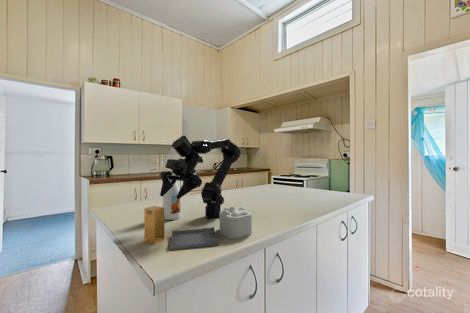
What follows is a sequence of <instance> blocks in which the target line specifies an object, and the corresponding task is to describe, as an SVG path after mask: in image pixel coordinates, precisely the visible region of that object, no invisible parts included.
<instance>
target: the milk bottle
mask: <svg viewBox="0 0 470 313" xmlns="http://www.w3.org/2000/svg"><path fill="white" fill-rule="evenodd" d="M172 174H173V175H175V173H172ZM173 185H174V186H173V187H172V188H171V189H170V190H169V191H168V192H167V193H166V194H165V195H163V196H162V207H164V221H174V220H178V219H180V218H181V198H180V199H177V195H178V193H179V191H180V187H179V186H178V182H177V181H176V182H175V183H174V184H173Z"/></svg>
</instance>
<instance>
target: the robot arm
mask: <svg viewBox="0 0 470 313" xmlns="http://www.w3.org/2000/svg"><path fill="white" fill-rule="evenodd" d="M171 147H172V148H173V150H174V151H175V152H176V153H177V154H178V155H179V157H181V158H179V159H175V158H174V159H173V158H171V159H167V160H166V163H165V168H166V169H169V170H171V171H169V170H166V171H165V170H163V171H161V172H160V174H159V175H158V176H159V177H160V179H161V181H162V185H161V188H160V192H159V196H160V197H163V195H165V194H166V193H167V192H168V191H169V190H170V189H171V188H172V187H173V186H174V185H173V184H174V183H175V182H177V181H179V182H182V185H181V186H180V188H179V190H180V191H179V193H178V195H177V199H180V200H181V198H182V197H184V196H185V195H187V194H188V193H190V192H192V191H194V190H195V189H198V188H200V187H201V186H202V184H203V181H202V180H203V179H202V178H201V177H200V176H199V175H198V174H197V172H196V167H197V165H198V164H199V163H200V164H203V163H204V160H203V156H200V155H201V154H203V155H204V154H209V152H211V151H212V150H214V149H215V150H216V149H220V151H221V153H222V161H221V163H220V165H219V167H218V169H217V171H216V173H215V175H214V176H213V178H212V180H211V181H210V182H205V183H204V185H203V188H201V194H200V195H201V199H202V202H203V204H206V206H205V207H204V208H205V209H204V213H205V214H204V216H206V219H217V218H219V219H220V211H221V210H222V209H221V205H224V201H225V198H224V196H223V195H222V185H223V183H224V181H225V178H226V177H227V174H228V173H229V171H230V169H231V166H232V165H233V164H234V163H235V162H237V161H238V159H239V158H240V157H241V149H240V148H239V146H237V145H236V143H233V142H232V141H231V139H229V138H221V139H215V140H193V141H191V142H190V141H189V139H188V137H186V135H180V137H179V138H177V139H175V140H174V141H173V142H172V144H171ZM173 174H175V175H173Z"/></svg>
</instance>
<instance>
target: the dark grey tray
mask: <svg viewBox="0 0 470 313" xmlns="http://www.w3.org/2000/svg"><path fill="white" fill-rule="evenodd" d="M218 246H220V241H219V238H218V235H217V233H216V230H215V227H214V226H213V227H203V228H187V229H186V228H185V229H176V230H175V229H173V230H171V237H170V243H169V251H174V250H184V249H193V248H194V249H196V248H205V247H206V248H207V247H218Z"/></svg>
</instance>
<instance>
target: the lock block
mask: <svg viewBox="0 0 470 313" xmlns="http://www.w3.org/2000/svg"><path fill="white" fill-rule="evenodd" d="M143 215H144V217H143V218H144V242H146V243H149V244H152V243H153V245H156V244H159V243H161V242H164V241H165V219H164V207H163V206H157V205H152V206H149V207H145V208H144V214H143ZM163 240H164V241H163ZM158 242H159V243H158Z"/></svg>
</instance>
